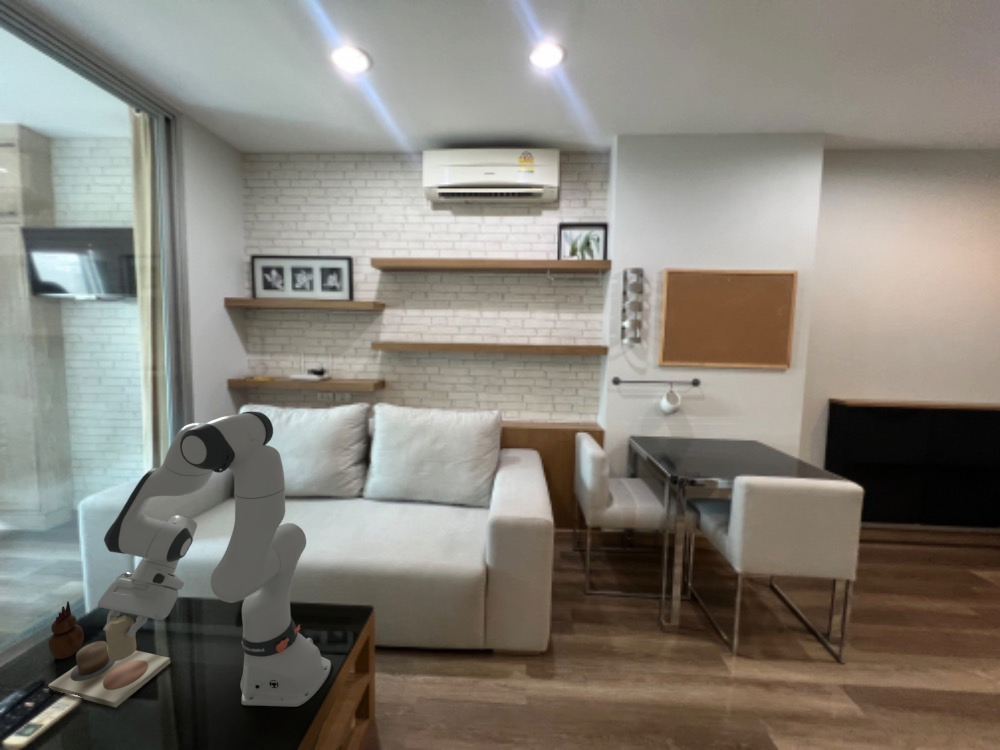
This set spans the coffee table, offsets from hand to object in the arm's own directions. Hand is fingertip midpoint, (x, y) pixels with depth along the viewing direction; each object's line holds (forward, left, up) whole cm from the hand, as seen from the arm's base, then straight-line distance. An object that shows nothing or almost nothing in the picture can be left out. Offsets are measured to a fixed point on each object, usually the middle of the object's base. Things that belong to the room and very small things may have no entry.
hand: (117, 633), depth 111 cm
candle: (0, -1, -6) cm, 6 cm away
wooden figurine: (+25, -4, -14) cm, 29 cm away
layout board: (+5, -1, -14) cm, 15 cm away
